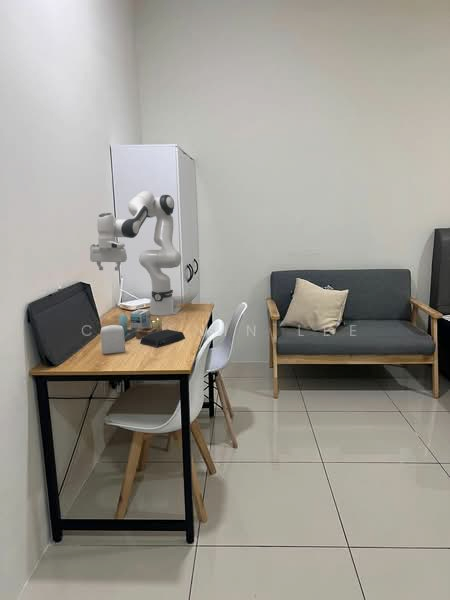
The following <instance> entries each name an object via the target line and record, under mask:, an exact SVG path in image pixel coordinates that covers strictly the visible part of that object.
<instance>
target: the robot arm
mask: <svg viewBox="0 0 450 600" xmlns="http://www.w3.org/2000/svg"><path fill="white" fill-rule="evenodd" d="M127 208H128V212H129V213H130V215H132V218H126V219H125V218H123V219H121V218H116V217H115V216H114V215H113V213H112V212H103V213H100V214H98V217H97V224H96V226H97V232H98V238H97V240H98V244H92V245H90V247H89V251H90V252H89V254H90V255H89V260H90V261H91V262H92V263H93V262H95V263H96V265H97V266H98V270H99V271H103V270H104V266H102V263H116V266H115V267H114V271H116V272H117V271H120V265H121V263H124V262H126V261H127V259H128V257H127V251H126V249H125V247H126V246H125V243H123V242H120V241H118V240H116V239H117V238H129V239H134V238H135V237H137V235H138V233H139V231H140V229H141V228H142V225H143V224H144V222H146V220H147V219H148V218H150V219H151V218H154V217H156V222H155V227H154V234H153V241H154V243H155V244H156V245H157V246H159V247H161V249H147V250H143V251H141V252H140V253H139V256H138V258H139V259H138V260H139V261H138V262H139V264H140V265H141V267H142V268H144V269H145V270H146V271H147V273H148V274H149V276H150V279H151V280H150V281H151V289H152V290H151V299H150V301H149V310H150V315H152V316H163V317H164V316H170V315H171V316H172V315H177V314H178V313H179V312H180V311H181V307H180V306H178V305H177V303H178V302H177V300H176V298H174V297H173V293H174V290H173V289H172V287H171V277H170V276H169V275H167V274H165V272H163V271H162V269H173V268H178V267H179V266H180V265H181V262H182V255H181V252H179V251H178V250H177V249H176V248H175V247H174V244H173V234H174V218H173V216H172V214H173V212H174V210H175V202H174V199H173V197H172V196H171V195H169V194H162V195H159V196H154V194H153V192H151V191H149V190H143V191H141V192H139V193H138V194H136V195H135V196H134V197H132V199H131V200H130V201H129V203H128V205H127Z"/></svg>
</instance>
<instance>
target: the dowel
mask: <svg viewBox="0 0 450 600" xmlns="http://www.w3.org/2000/svg"><path fill="white" fill-rule="evenodd" d="M118 318H119V320H118V321H119V326H122V327H123V329H124V337H125V336H127V335H128V334H127V329H128V314H125V313H123V314H119V315H118Z"/></svg>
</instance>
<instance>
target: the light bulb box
mask: <svg viewBox="0 0 450 600" xmlns="http://www.w3.org/2000/svg"><path fill="white" fill-rule="evenodd" d="M129 318H130V320H129V321H130V322H129V323H130V329H135V330H138V329H140V328H142V327H149V328H152V325H151V321H152V320H151V314H150V309H143V308H142V309H141V308H139V309H137V310H134V311H132V312H130V313H129Z"/></svg>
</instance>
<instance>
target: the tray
mask: <svg viewBox="0 0 450 600" xmlns="http://www.w3.org/2000/svg"><path fill="white" fill-rule="evenodd" d="M136 331H137V330H135V329H131V328H127V334H128V335H127V336H125V337H124V338H125V343H126V342H128V341H130V340H132V339H133V338H136Z"/></svg>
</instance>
